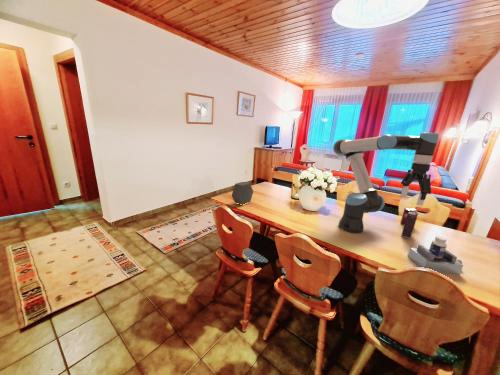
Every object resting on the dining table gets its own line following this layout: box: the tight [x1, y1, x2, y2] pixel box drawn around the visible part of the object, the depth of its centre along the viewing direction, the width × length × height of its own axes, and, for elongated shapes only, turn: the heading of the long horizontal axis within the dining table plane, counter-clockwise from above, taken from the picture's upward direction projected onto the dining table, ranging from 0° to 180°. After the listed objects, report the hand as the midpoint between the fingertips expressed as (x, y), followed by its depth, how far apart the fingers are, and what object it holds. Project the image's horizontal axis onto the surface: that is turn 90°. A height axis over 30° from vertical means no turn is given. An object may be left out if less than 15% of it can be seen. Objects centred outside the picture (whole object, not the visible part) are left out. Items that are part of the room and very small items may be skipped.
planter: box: [231, 181, 254, 206], centre depth 171 cm, size 17×8×21 cm
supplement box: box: [400, 210, 419, 240], centre depth 129 cm, size 9×5×16 cm, turn 137°
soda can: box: [400, 207, 418, 226], centre depth 146 cm, size 7×7×12 cm
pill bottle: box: [429, 235, 448, 258], centre depth 100 cm, size 5×5×10 cm
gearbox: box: [407, 244, 464, 275], centre depth 102 cm, size 20×12×8 cm, turn 85°
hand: (410, 200), depth 114 cm, fingers open, 13 cm apart
